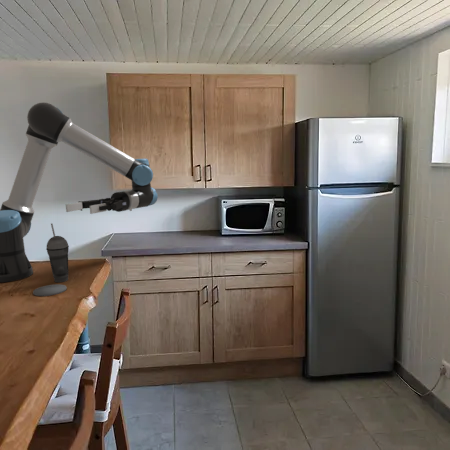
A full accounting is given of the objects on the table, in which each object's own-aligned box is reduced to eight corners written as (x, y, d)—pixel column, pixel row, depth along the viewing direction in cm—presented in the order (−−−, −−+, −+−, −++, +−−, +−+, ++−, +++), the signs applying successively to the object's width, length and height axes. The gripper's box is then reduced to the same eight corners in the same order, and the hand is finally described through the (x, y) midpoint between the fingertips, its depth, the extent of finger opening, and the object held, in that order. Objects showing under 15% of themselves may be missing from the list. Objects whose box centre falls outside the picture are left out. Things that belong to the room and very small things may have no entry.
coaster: (26, 293, 144) (26, 291, 144) (54, 284, 152) (54, 282, 152) (45, 298, 138) (44, 296, 138) (73, 288, 146) (72, 287, 146)
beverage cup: (65, 283, 152) (58, 225, 148) (45, 283, 154) (38, 225, 150) (76, 277, 159) (70, 221, 156) (57, 277, 161) (51, 221, 157)
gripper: (147, 211, 170) (102, 221, 153) (104, 209, 185) (58, 217, 168) (146, 191, 169) (100, 199, 152) (102, 190, 183) (56, 197, 166)
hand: (78, 209), depth 160 cm, fingers open, 13 cm apart
